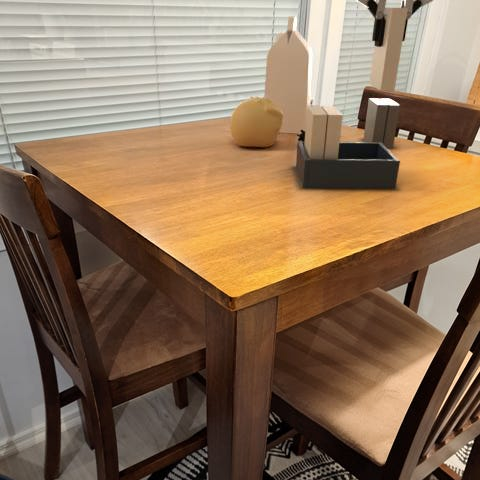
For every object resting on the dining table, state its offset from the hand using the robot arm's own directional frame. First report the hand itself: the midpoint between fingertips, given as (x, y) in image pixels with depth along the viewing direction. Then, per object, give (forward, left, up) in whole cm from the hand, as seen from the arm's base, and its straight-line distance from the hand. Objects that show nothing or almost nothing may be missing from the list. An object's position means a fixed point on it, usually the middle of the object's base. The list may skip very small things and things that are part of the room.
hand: (387, 45), depth 84 cm
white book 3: (0, 0, -7) cm, 7 cm away
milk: (+12, -46, -23) cm, 53 cm away
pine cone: (+6, -27, -23) cm, 36 cm away
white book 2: (+9, +2, -22) cm, 24 cm away
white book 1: (+11, +2, -22) cm, 25 cm away
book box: (+5, +2, -23) cm, 24 cm away
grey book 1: (-6, -26, -23) cm, 35 cm away
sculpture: (+21, -26, -23) cm, 41 cm away
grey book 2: (-9, -26, -23) cm, 36 cm away
